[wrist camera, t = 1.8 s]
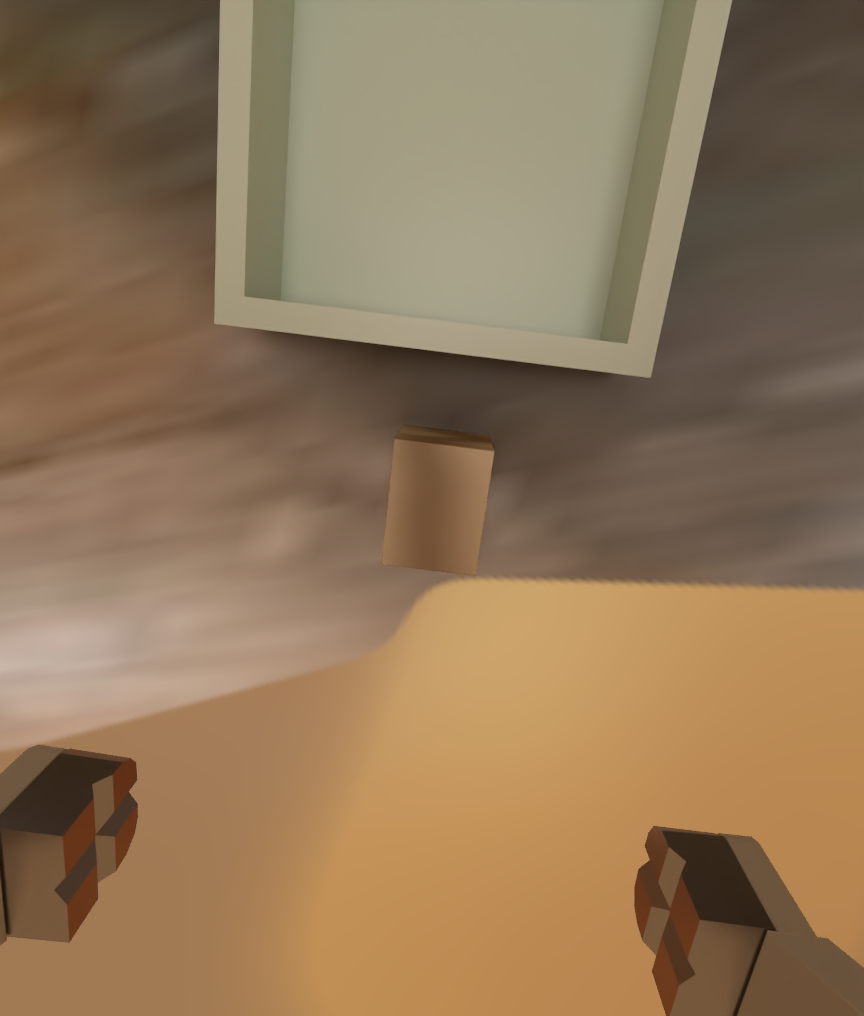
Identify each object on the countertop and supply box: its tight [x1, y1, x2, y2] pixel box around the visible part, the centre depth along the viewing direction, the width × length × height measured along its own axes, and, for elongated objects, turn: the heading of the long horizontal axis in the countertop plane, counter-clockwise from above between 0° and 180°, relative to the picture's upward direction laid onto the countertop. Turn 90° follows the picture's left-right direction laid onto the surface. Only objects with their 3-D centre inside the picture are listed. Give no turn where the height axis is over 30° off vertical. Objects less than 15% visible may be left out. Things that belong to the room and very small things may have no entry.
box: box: [214, 0, 732, 378], centre depth 24 cm, size 18×18×6 cm
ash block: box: [382, 425, 494, 576], centre depth 29 cm, size 4×6×5 cm
